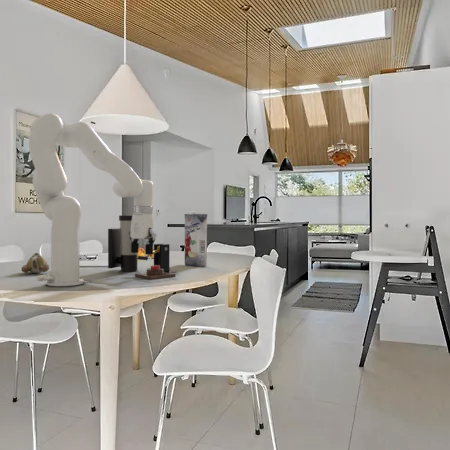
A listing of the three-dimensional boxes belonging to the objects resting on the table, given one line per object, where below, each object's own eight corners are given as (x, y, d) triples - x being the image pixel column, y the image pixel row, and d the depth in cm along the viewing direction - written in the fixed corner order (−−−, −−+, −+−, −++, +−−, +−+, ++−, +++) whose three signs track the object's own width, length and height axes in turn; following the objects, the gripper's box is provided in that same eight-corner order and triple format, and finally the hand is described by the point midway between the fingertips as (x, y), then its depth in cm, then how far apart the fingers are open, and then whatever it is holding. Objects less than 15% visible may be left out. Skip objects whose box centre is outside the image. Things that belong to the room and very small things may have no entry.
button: (154, 271, 165) (154, 266, 165) (148, 270, 168) (148, 265, 168) (161, 270, 168) (161, 265, 168) (156, 269, 170) (156, 264, 170)
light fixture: (132, 275, 178) (132, 215, 178) (107, 274, 180) (107, 215, 180) (143, 271, 190) (143, 215, 190) (120, 271, 192) (120, 215, 192)
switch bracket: (157, 276, 175) (157, 245, 175) (146, 274, 181) (146, 244, 180) (176, 274, 182) (177, 244, 182) (165, 272, 188) (165, 243, 187)
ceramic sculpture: (51, 250, 193) (48, 255, 179) (51, 269, 194) (48, 276, 179) (24, 251, 190) (19, 256, 175) (25, 270, 190) (20, 277, 176)
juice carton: (196, 264, 220) (197, 211, 219) (209, 266, 211) (209, 211, 211) (182, 265, 214) (182, 211, 213) (194, 267, 206) (194, 210, 205)
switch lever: (146, 261, 172) (144, 256, 172) (138, 260, 176) (137, 255, 175) (168, 250, 181) (167, 244, 180) (161, 249, 184) (159, 244, 183)
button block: (150, 282, 160) (150, 271, 160) (134, 279, 167) (134, 269, 167) (175, 279, 169) (175, 269, 169) (159, 276, 176) (159, 266, 176)
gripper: (123, 210, 177) (121, 252, 177) (148, 210, 165) (146, 255, 165) (138, 211, 183) (137, 251, 183) (163, 211, 171) (162, 254, 171)
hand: (141, 253), depth 174 cm, fingers open, 9 cm apart
